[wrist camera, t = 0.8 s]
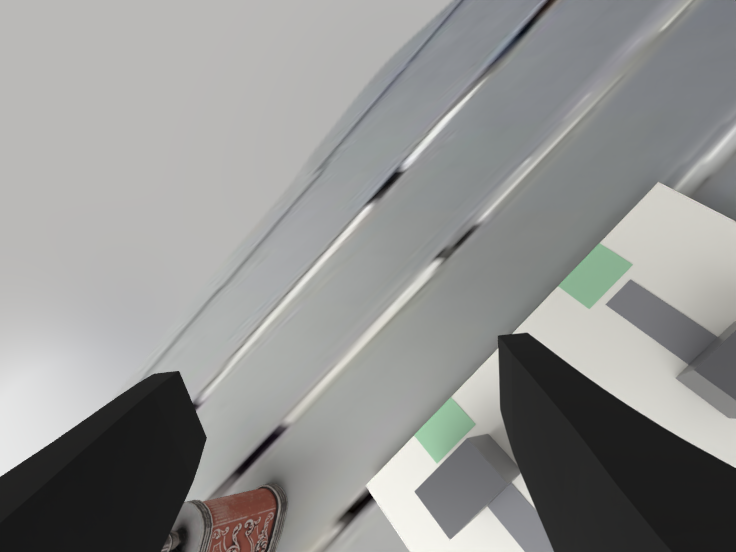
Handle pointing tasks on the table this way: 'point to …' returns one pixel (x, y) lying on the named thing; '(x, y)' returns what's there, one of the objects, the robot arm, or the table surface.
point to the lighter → (231, 523)
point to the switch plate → (592, 363)
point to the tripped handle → (715, 373)
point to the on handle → (467, 483)
